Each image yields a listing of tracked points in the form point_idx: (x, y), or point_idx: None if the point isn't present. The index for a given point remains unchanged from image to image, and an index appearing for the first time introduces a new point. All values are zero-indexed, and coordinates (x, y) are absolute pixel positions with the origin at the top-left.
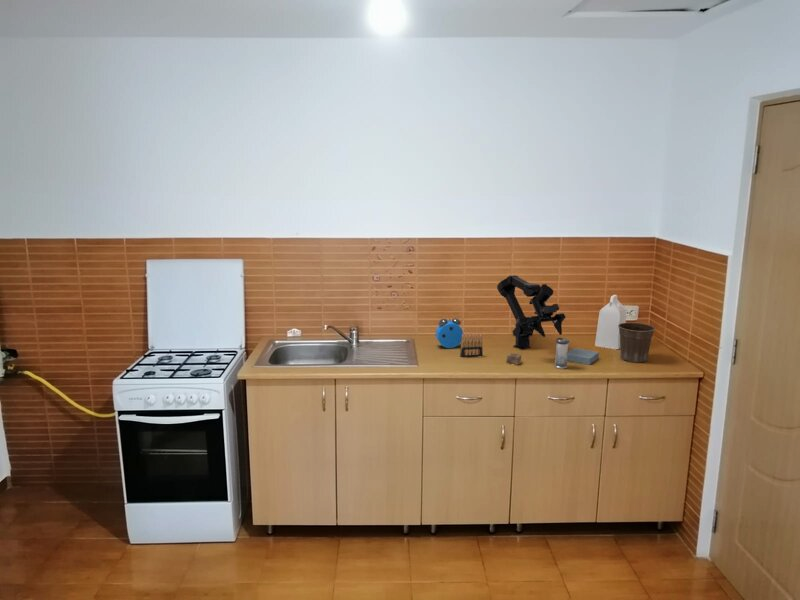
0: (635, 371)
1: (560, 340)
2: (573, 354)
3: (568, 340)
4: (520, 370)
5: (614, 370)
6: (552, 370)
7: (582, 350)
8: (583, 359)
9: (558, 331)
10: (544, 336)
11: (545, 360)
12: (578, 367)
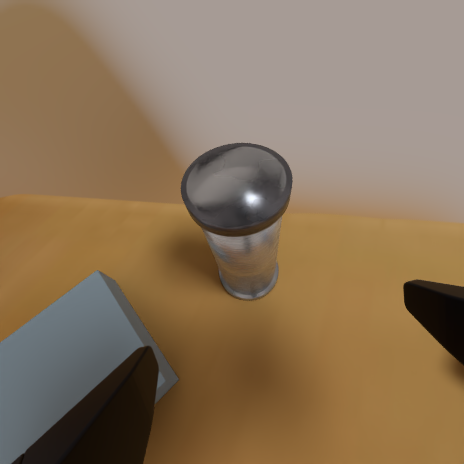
0: (29, 204)
1: (261, 165)
2: (124, 355)
3: (197, 163)
4: (458, 249)
5: (79, 216)
6: (301, 235)
7: (6, 442)
8: (116, 294)
9: (139, 440)
10: (411, 291)
11: (295, 393)
12: (177, 257)
